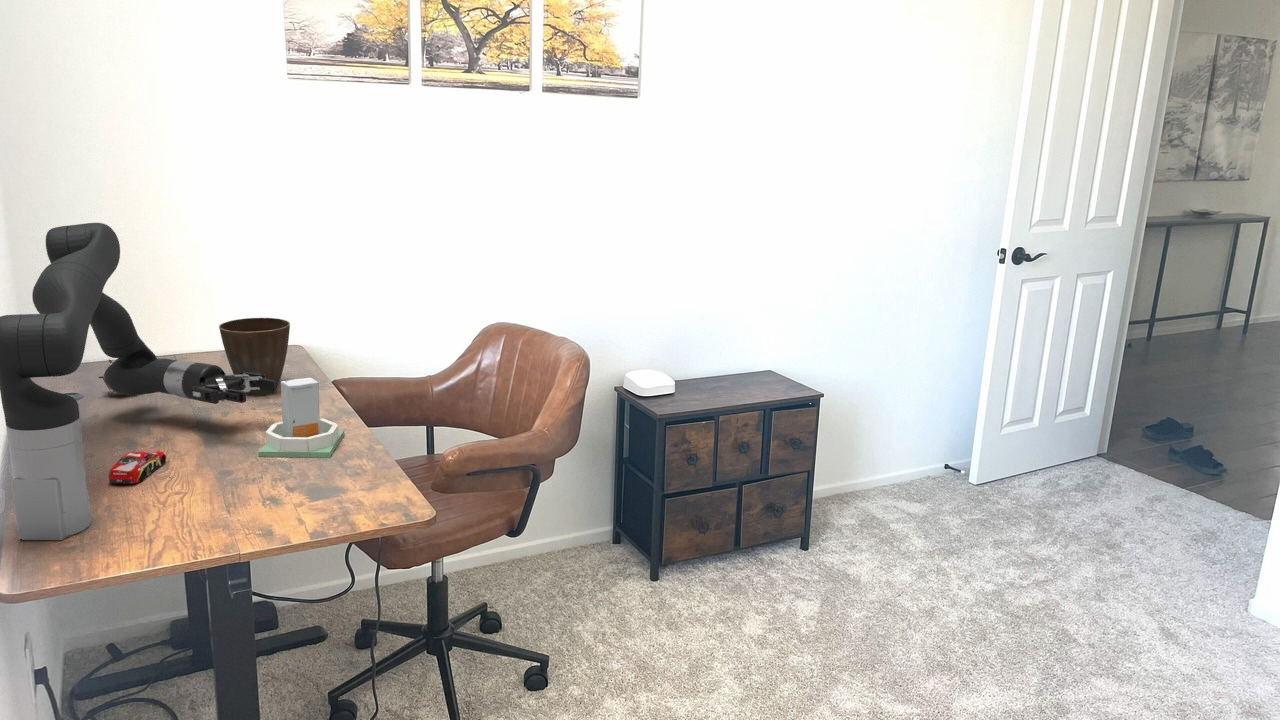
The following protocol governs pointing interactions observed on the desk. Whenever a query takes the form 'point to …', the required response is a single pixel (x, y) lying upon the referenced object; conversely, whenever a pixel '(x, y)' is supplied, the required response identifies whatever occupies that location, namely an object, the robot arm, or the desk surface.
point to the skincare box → (300, 407)
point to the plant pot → (256, 347)
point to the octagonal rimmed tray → (302, 442)
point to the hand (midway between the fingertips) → (260, 391)
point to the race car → (136, 466)
